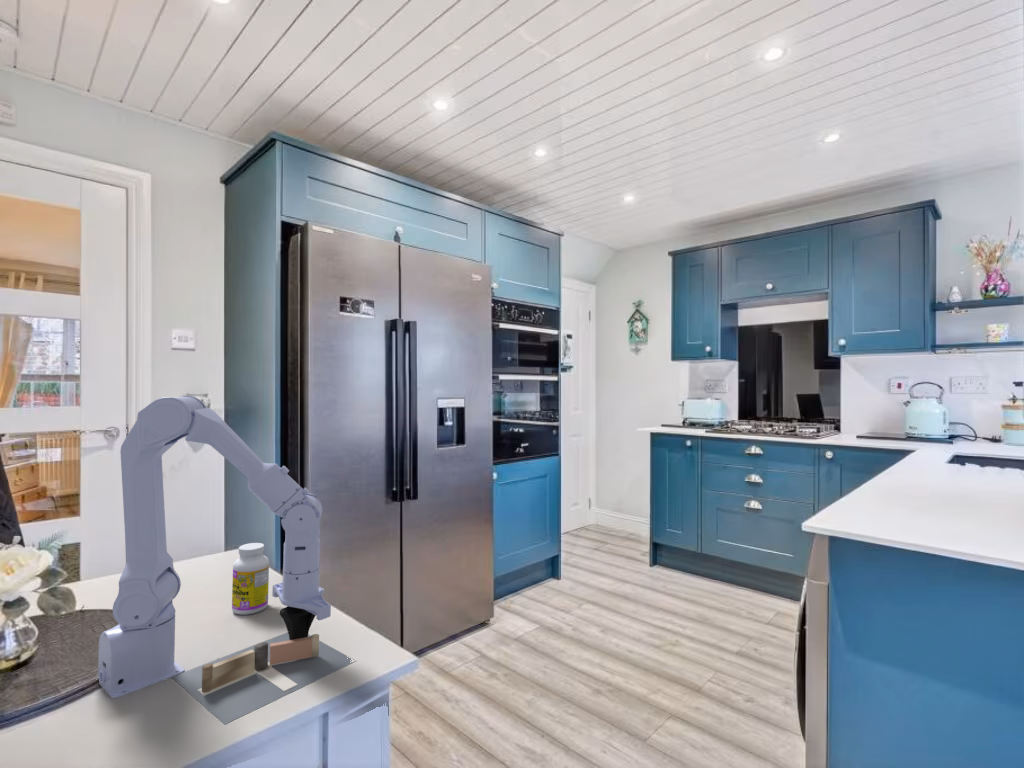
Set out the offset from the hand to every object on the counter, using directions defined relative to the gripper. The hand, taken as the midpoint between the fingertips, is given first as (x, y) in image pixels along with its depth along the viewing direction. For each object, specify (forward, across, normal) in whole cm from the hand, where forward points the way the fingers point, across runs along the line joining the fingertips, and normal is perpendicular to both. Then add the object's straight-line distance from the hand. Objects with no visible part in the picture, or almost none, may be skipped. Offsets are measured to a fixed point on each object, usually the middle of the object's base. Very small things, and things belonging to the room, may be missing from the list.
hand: (298, 649), depth 88 cm
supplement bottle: (+2, +25, -4) cm, 26 cm away
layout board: (+2, 0, +5) cm, 6 cm away
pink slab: (+1, -1, +1) cm, 2 cm away
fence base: (+1, +1, +10) cm, 10 cm away
